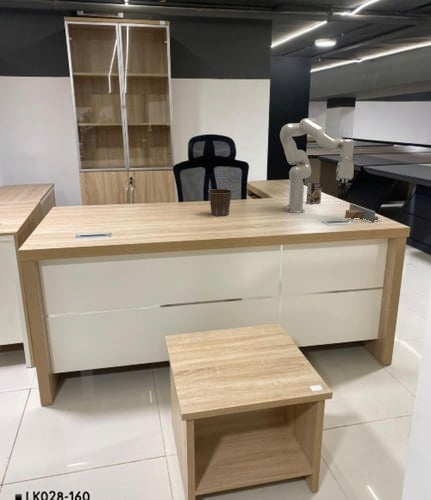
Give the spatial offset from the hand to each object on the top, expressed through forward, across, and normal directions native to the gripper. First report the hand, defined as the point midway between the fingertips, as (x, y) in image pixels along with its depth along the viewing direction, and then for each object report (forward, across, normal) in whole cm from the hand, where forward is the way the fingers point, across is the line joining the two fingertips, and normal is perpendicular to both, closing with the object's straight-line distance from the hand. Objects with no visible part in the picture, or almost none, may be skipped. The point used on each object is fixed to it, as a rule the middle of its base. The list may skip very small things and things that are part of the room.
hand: (342, 189), depth 271 cm
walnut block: (+20, +10, 0) cm, 22 cm away
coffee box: (+21, +7, +51) cm, 56 cm away
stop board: (+20, +17, -1) cm, 26 cm away
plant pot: (+21, -72, +33) cm, 82 cm away
